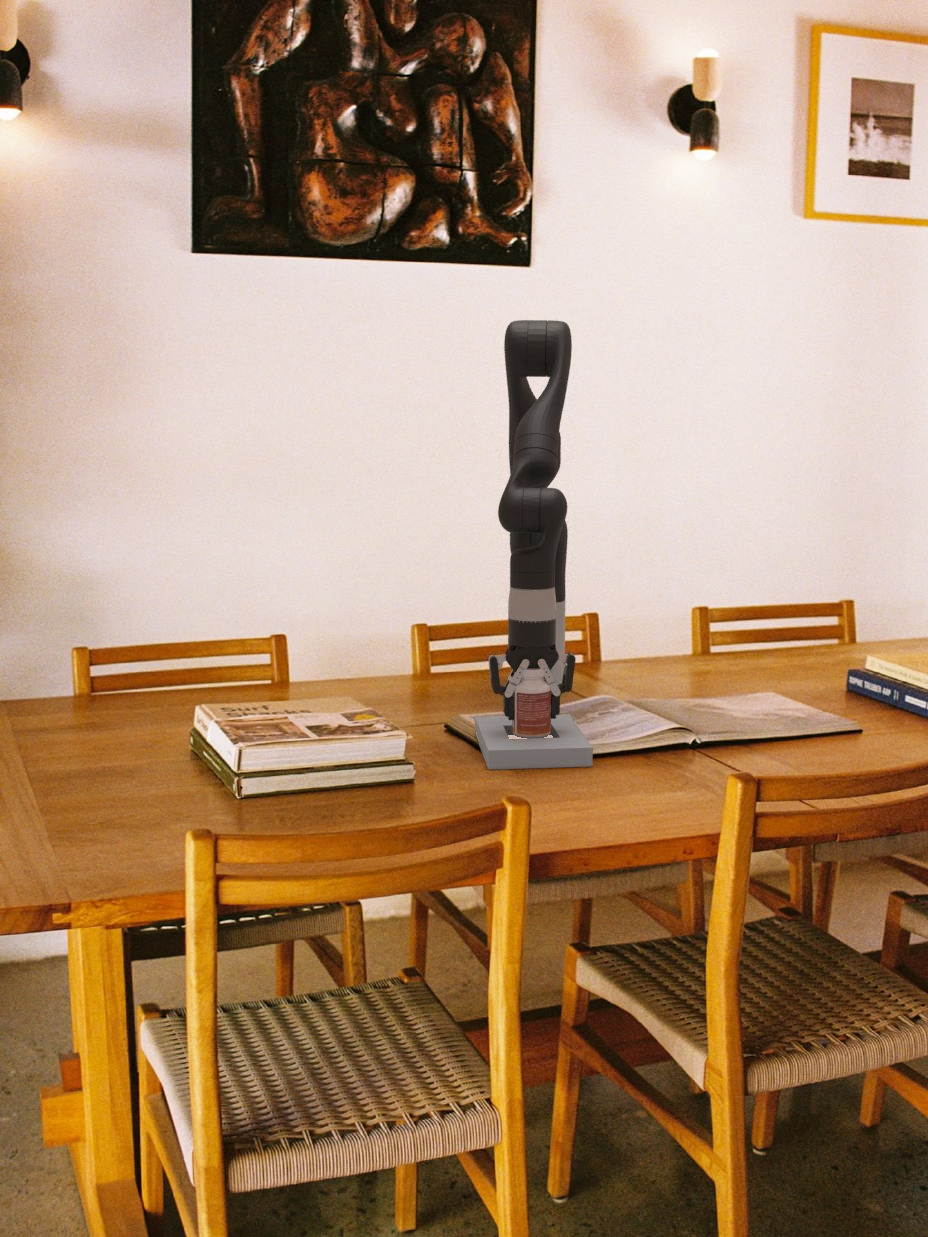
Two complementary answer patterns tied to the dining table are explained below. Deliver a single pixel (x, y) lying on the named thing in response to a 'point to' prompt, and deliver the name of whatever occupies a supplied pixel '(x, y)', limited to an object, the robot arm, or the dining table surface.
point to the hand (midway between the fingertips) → (531, 718)
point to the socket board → (533, 745)
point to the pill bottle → (532, 705)
